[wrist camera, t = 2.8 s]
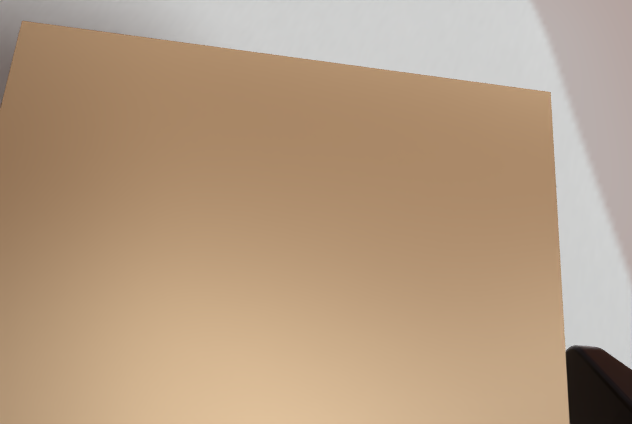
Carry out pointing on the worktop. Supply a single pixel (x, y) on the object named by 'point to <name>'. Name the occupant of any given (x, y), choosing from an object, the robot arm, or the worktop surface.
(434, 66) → the worktop surface
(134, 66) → the oak block
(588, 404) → the robot arm
